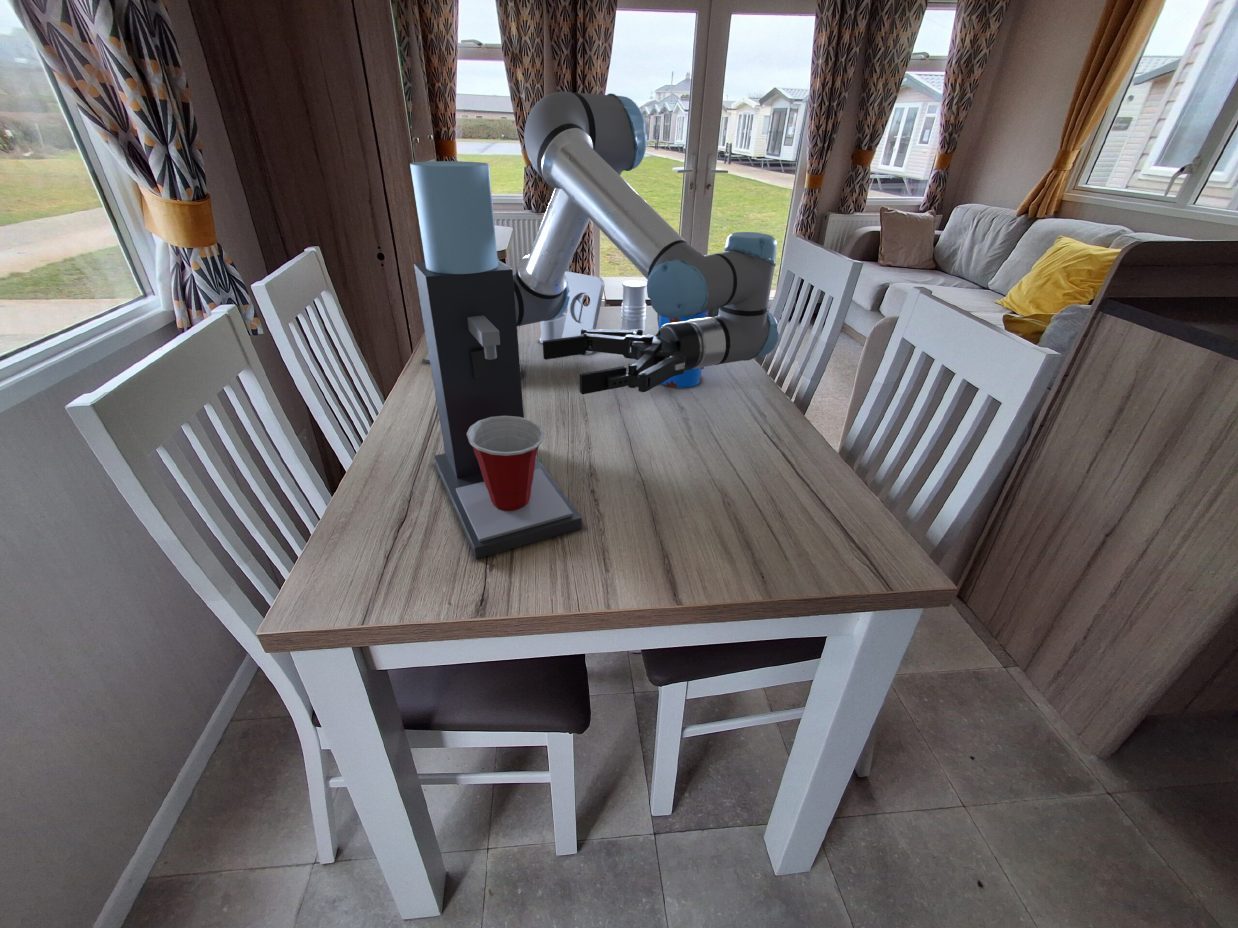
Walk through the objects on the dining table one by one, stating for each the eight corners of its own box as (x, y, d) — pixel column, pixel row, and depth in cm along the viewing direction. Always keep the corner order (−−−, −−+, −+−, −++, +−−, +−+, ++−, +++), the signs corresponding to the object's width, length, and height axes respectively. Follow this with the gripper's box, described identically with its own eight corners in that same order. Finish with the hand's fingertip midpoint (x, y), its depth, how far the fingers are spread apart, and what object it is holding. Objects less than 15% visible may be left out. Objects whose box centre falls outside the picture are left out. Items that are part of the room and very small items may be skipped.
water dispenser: (434, 464, 98) (380, 161, 74) (521, 445, 105) (498, 161, 80) (476, 559, 77) (419, 179, 53) (581, 528, 84) (575, 177, 59)
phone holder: (536, 341, 154) (532, 274, 145) (560, 332, 161) (557, 268, 152) (586, 355, 146) (585, 285, 136) (608, 345, 153) (609, 277, 144)
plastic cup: (534, 526, 80) (529, 454, 73) (463, 516, 81) (452, 444, 75) (556, 485, 89) (553, 418, 83) (492, 477, 90) (485, 410, 84)
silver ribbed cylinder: (632, 331, 163) (634, 279, 155) (649, 337, 159) (652, 283, 151) (615, 336, 159) (616, 283, 151) (633, 342, 155) (634, 288, 147)
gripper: (734, 398, 79) (599, 428, 71) (647, 343, 98) (532, 361, 89) (741, 348, 75) (599, 372, 67) (649, 300, 94) (529, 315, 85)
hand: (560, 366), depth 78 cm, fingers open, 13 cm apart
